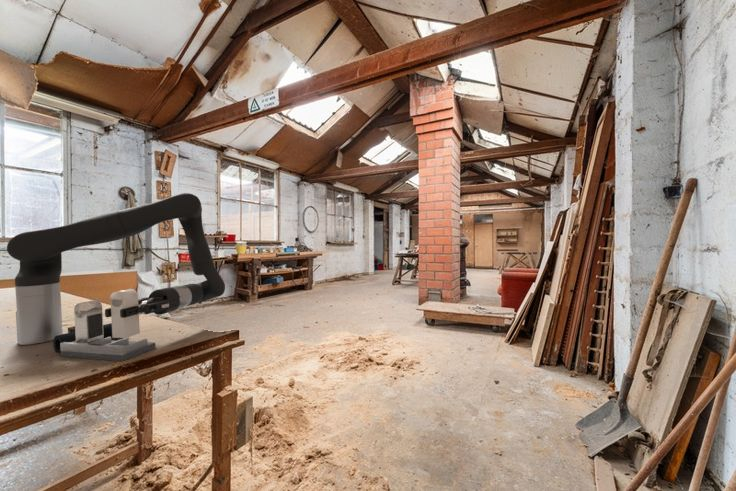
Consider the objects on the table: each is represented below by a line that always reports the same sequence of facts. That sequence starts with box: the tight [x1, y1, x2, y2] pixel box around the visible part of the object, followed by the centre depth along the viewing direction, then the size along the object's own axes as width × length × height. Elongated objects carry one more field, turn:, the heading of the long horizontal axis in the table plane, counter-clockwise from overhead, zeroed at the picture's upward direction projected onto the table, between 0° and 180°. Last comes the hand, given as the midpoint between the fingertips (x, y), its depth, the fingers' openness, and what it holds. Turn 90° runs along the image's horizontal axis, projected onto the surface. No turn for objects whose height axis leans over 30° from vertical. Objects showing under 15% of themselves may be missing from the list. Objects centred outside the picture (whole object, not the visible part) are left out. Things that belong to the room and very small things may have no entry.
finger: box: [109, 288, 141, 339], centre depth 79 cm, size 4×4×12 cm
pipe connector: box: [52, 322, 117, 355], centre depth 89 cm, size 12×5×15 cm
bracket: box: [60, 299, 156, 362], centre depth 80 cm, size 20×9×14 cm, turn 78°
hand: (114, 313), depth 76 cm, fingers closed on finger, 4 cm apart
